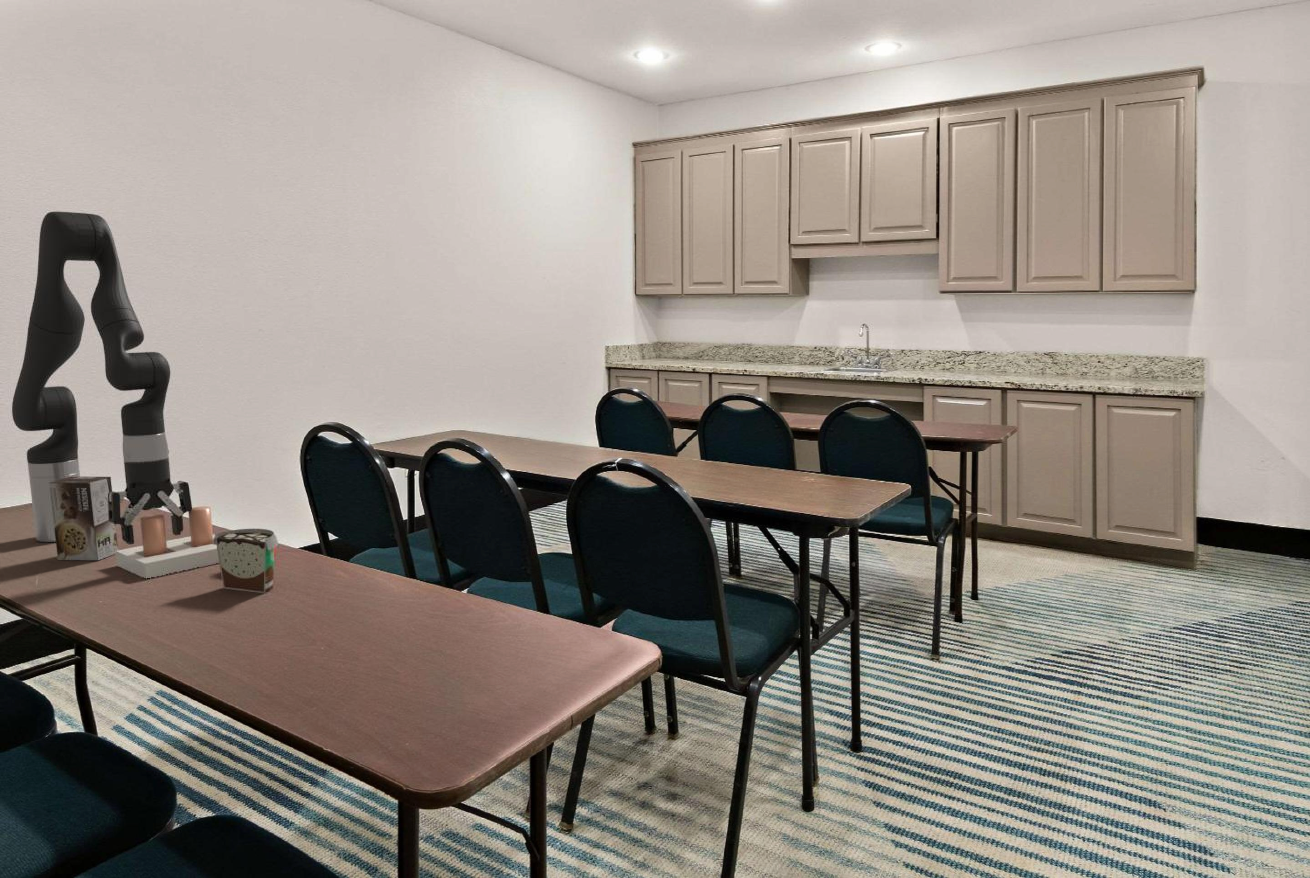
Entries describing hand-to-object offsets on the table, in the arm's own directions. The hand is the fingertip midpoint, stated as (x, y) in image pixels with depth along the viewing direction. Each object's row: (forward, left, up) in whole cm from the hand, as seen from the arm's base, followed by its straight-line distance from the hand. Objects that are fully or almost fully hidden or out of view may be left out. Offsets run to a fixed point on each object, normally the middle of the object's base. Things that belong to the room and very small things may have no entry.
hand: (153, 539), depth 173 cm
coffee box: (-19, -6, -6) cm, 21 cm away
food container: (+27, +6, -6) cm, 28 cm away
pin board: (0, +4, -6) cm, 7 cm away
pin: (0, 0, -6) cm, 6 cm away
